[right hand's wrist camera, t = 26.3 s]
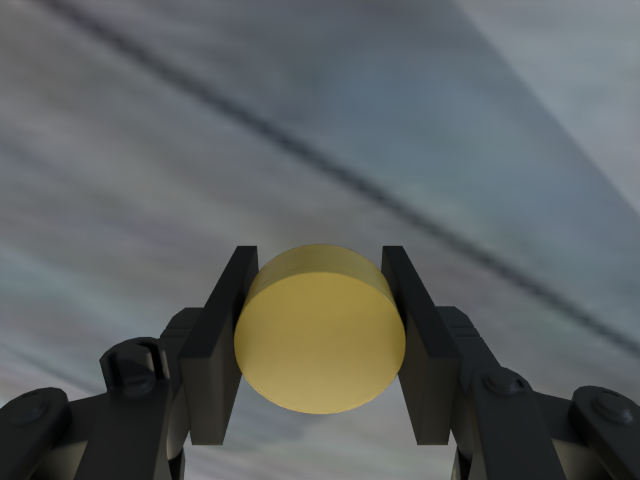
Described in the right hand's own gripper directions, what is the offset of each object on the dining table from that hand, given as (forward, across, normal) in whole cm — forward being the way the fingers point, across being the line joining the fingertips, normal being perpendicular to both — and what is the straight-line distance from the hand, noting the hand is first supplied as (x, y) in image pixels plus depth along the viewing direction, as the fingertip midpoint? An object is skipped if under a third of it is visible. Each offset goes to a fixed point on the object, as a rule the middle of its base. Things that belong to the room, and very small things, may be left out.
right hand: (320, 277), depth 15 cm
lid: (-4, 0, 0) cm, 4 cm away
